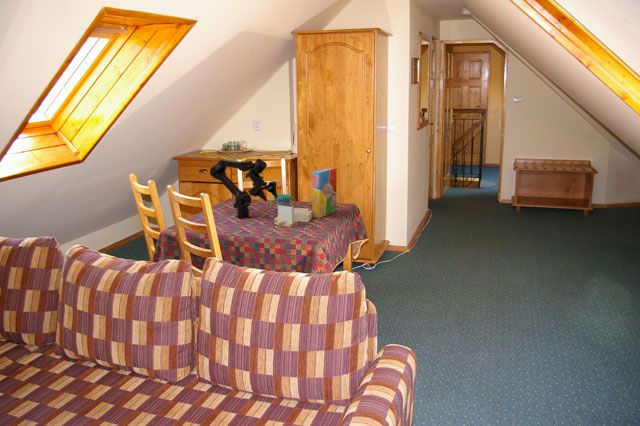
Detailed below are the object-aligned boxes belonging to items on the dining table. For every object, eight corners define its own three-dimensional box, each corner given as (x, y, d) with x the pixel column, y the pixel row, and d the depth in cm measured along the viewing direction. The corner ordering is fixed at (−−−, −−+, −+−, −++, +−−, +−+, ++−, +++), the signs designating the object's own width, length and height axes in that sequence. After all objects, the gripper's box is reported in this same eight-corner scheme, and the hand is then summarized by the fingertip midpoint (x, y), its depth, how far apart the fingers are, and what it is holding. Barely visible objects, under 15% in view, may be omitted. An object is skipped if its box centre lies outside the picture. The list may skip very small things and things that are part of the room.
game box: (319, 218, 337) (319, 172, 331) (311, 217, 340) (311, 172, 334) (336, 211, 355) (336, 167, 348) (329, 210, 357) (328, 167, 351)
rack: (274, 220, 333) (274, 212, 332) (279, 215, 344) (279, 207, 343) (308, 221, 330) (308, 213, 328) (312, 216, 341) (312, 208, 340)
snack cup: (294, 209, 361) (294, 193, 359) (296, 213, 351) (296, 196, 349) (269, 210, 359) (269, 194, 357) (270, 214, 349) (270, 197, 347)
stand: (274, 224, 325) (274, 220, 324) (281, 222, 329) (281, 218, 329) (291, 227, 318) (291, 223, 317) (297, 224, 323) (297, 221, 322)
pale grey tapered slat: (278, 222, 326) (277, 205, 323) (280, 222, 327) (279, 205, 325) (292, 225, 320) (291, 207, 318) (294, 224, 321) (293, 207, 319)
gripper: (259, 185, 342) (274, 205, 338) (238, 190, 327) (253, 211, 323) (269, 173, 335) (284, 193, 332) (248, 177, 321) (264, 199, 317)
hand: (271, 199), depth 326 cm, fingers open, 9 cm apart
